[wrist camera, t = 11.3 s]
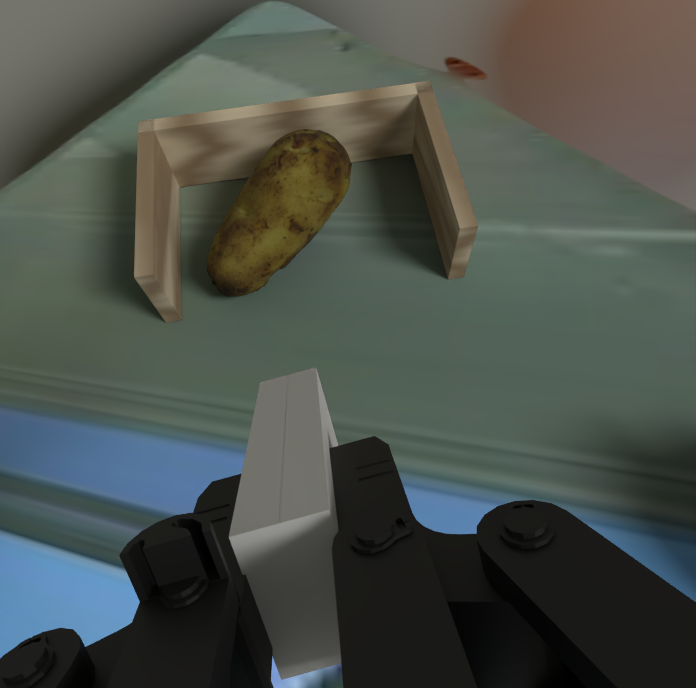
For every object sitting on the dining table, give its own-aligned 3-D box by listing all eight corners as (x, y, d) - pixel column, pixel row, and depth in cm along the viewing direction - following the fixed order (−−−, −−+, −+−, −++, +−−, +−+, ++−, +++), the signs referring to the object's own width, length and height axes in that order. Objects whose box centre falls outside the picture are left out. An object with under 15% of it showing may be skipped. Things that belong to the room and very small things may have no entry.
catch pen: (165, 322, 40) (134, 277, 34) (165, 178, 46) (138, 121, 41) (463, 276, 41) (477, 225, 35) (422, 141, 47) (429, 80, 42)
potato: (187, 243, 43) (151, 170, 36) (327, 176, 46) (319, 95, 38) (232, 321, 40) (202, 257, 33) (380, 244, 42) (382, 169, 35)
